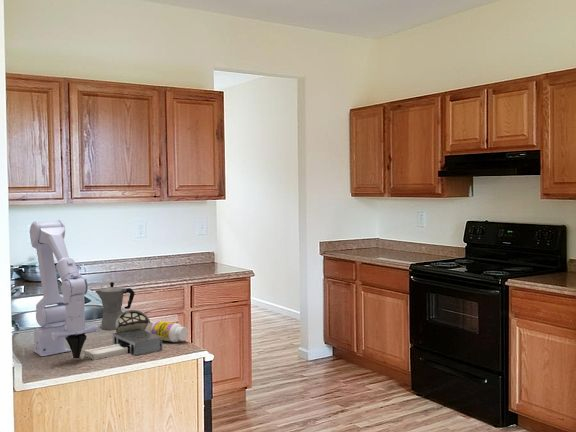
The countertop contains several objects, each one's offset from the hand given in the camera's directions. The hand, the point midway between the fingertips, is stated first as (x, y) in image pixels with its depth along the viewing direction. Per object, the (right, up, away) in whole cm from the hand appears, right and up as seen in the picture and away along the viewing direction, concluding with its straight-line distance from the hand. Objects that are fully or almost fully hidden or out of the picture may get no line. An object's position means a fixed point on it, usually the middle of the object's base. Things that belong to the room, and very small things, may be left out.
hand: (76, 357), depth 183 cm
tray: (+7, -1, +7) cm, 10 cm away
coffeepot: (-1, +1, +43) cm, 43 cm away
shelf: (+16, 0, +14) cm, 21 cm away
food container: (+8, +2, +27) cm, 28 cm away
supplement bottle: (+19, +4, +26) cm, 32 cm away
